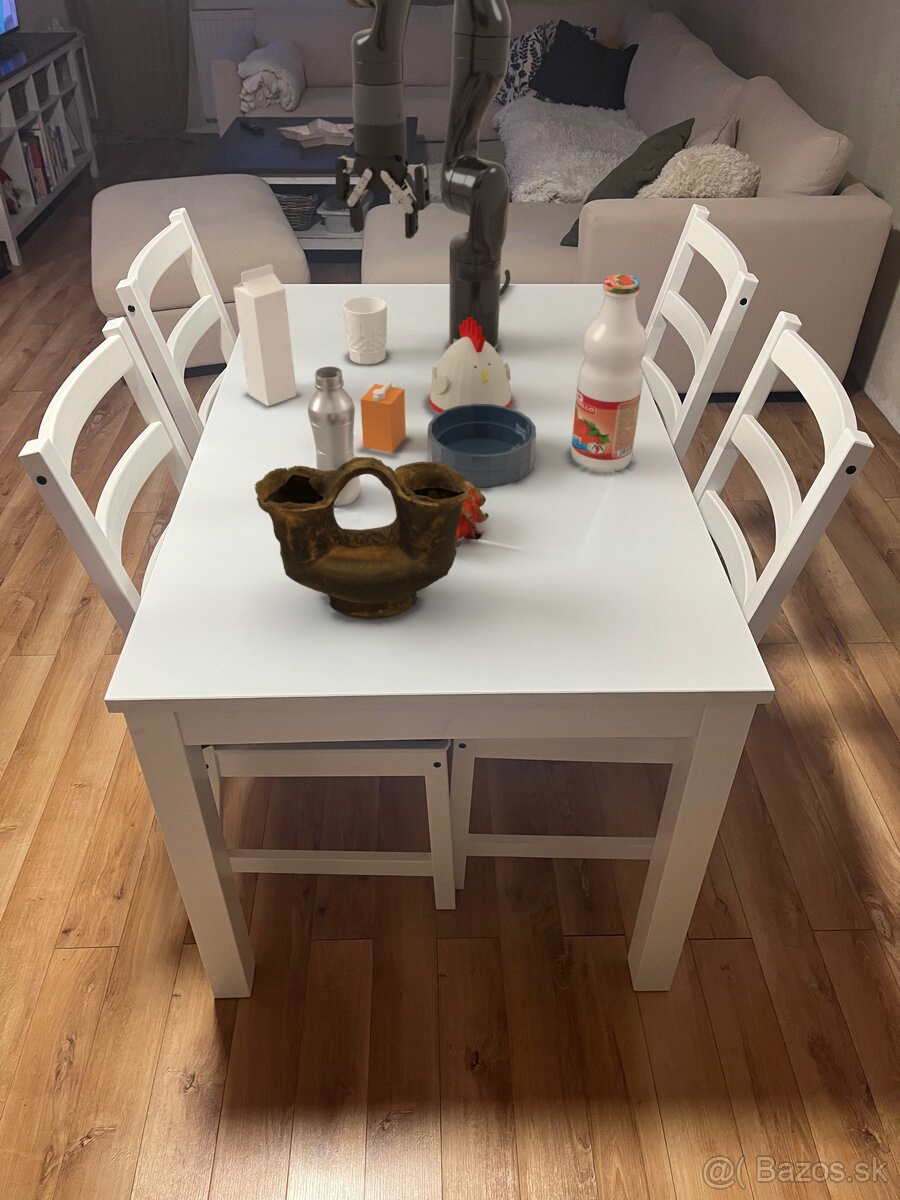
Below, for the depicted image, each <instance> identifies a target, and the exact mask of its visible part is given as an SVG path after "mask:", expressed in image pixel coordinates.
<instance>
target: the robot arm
mask: <svg viewBox="0 0 900 1200" xmlns="http://www.w3.org/2000/svg"><path fill="white" fill-rule="evenodd" d="M342 1H343V2H344V3H345V4H347V5H349V6H350V7H353V8H358V9H367V10H375V14H374V19H373V23H372V27H371V28H366V29H363V30H359V31H358V32H356V33H354V34H353V35H352V38H351V43H350V53H351V56H350V57H351V73H352V76H351V77H352V94H351V106H352V107H351V115H352V124H353V141H354V143H353V145H354V152H355V157H354V158H353V157H350V156H349V155H348V154H344V155H341V156H340V157H338V158H336V159H335V163H334V167H335V198H336V200H337V201H338V202H344V203H346V204H347V205H348V210H349V225H350V227H351V228H353V232H354V233H360V232H361V231H363V230H364V228H365V226H364V225H365V224H364V207H363V206H364V205H363V203H361V201H362V200H363V198H364V196H366V194H367V192H369V193H372V194H379V193H381V194H383V195H388V196H389V195H391V194H392V195H393V196H394V198H395V199H396V201H397V202H400V204H401V206H402V207H403V209H404V210H405V211H406V212H405V213H404V233H405V235H404V236H405V239H413V238H414V237H415V235H416V234H417V233H418V232H419V212H420V211H423V210H425V209H426V208H428V207H429V206H430V205H431V191H430V176H429V165H428V164H427V163H426V162H422V163H420V164H410V163H409V161H408V156H407V155H408V141H407V140H408V139H407V137H408V136H407V101H406V100H407V99H406V92H405V91H406V90H405V83H404V51H403V50H404V42H405V38H406V37H405V36H406V33H407V27H408V22H409V17H410V12H411V7H412V3H413V0H342ZM452 17H453V19H452V32H451V48H450V49H451V52H450V53H451V54H450V85H449V97H448V99H449V100H448V111H447V124H446V131H445V138H444V147H443V153H442V161H441V168H440V181H439V188H440V196H441V200H442V203H443V204H444V206H445V207H446V208H447V209H448V210H450V211H452V212H455V213H457V214H461V215H464V216H466V217H467V216H468V217H469V222H468V229H467V231H465V232H461V233H459V234H456V235H454V236H453V237H452V238H451V240H450V242H449V307H448V308H449V310H448V311H449V313H448V314H449V317H448V319H449V321H448V322H449V323H448V324H449V326H448V327H449V329H448V332H449V333H448V335H449V336H448V348H449V347H450V346H451V345H452V344H453V343H454V342H456V341H457V340H459V339H461V336H460V329H459V324H463V321H465V320H467V318H469V317H473V321H477V327H478V326H482V337H485V341H486V342H488V343H489V344H490V345H491V346H492V347H493V348H494V349H495V351H496V352H497V351H498V350H499V342H500V341H499V326H500V300H501V297H502V296H503V294H505V292H506V291H507V289H508V287H509V285H510V282H511V272H510V269H505V270H504V276H505V280H504V283H503V285H502V287H501V276H502V275H501V272H502V271H501V270H502V269H501V268H502V249H503V246H504V243H505V240H506V236H507V229H508V217H509V209H510V208H509V207H510V194H511V187H510V186H511V185H510V177H509V174H508V172H507V169H506V168H505V167H504V166H503V165H502V164H500V163H499V162H495V161H492V160H488V159H484V158H481V157H479V147H480V145H479V144H480V138H481V137H480V135H481V129H482V125H483V122H484V119H485V116H486V114H487V112H488V110H489V108H490V106H491V104H492V103H493V101H494V100H495V98H496V96H497V95H498V92H499V91H500V88H501V86H502V85H503V83H504V80H505V79H506V76H507V73H508V68H509V63H510V62H509V61H510V53H511V51H510V50H511V38H512V36H511V35H512V19H511V14H510V10H509V7H508V4H507V1H506V0H454V3H453V16H452ZM353 170H354V171H355V173H356V175H357V176H358V177H359V180H358V181H357V183H356V185H355V186H354V188H353V189H352V192H351V173H352V172H353ZM408 175H410V177H411V179H412V181H413V182H414V186H415V195H414V193H413V190H412V188H411V186H410V184H409V183H408V181H407V179H406V178H407V177H408Z"/></svg>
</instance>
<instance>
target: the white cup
mask: <svg viewBox="0 0 900 1200" xmlns="http://www.w3.org/2000/svg"><path fill="white" fill-rule="evenodd" d="M342 310H343V319H344V327H345V335H346V341H347V342H346V343H347V346H348V353H349V359H350V360H351V361H352V362H353V363H355V364H359V365H376V364H379V363H381V362H382V361H384V360H385V359H386V357H387V352H386V351H387V337H388V333H387V331H388V303H387V302H386V300H384V299H382V298H381V297H375V296H357V297H353V298H349V299H347V300H346V301H344V302H343V303H342Z"/></svg>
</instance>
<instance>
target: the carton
mask: <svg viewBox="0 0 900 1200" xmlns="http://www.w3.org/2000/svg"><path fill="white" fill-rule="evenodd" d="M405 397H406V396H405V388H401V387H395V386H392V382H391V381H386V383H385V384H379V383H374V384H373V385H372V386H371V387H370V388H369V389H368V391H366V393H364V395H363V396H361V398H360V415H361V416H360V417H361V431H362V432H361V433H362V446H363V448H367V449H372V450H376V451H383V452H388V453H394V451H395V450H396V449H397V448H398V447H399V445H400V444H401V443H402V442H403V440H404V439H405V438H406V436H407V434H406V431H407V429H406V398H405Z"/></svg>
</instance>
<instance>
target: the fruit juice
mask: <svg viewBox="0 0 900 1200" xmlns="http://www.w3.org/2000/svg"><path fill="white" fill-rule="evenodd" d="M640 284H641V283H640V280H639V279H638V278H637V277H636V276H632V275H628V274H611V275H608V276H606V277H605V278H604V280H603V286H602V291H603V293H604V296H603V297H604V298H603V301H602V304H601V306H600V309H599V311H598V312H597V314H596V316H595V317H594V319H593V320H592V321H591V322H590V323H589V324H588V326H587V327H586V328H585V330H584V333H583V336H582V342H581V343H582V351H583V356H584V357H583V361H582V362H581V364H580V367H579V371H578V377H577V385H576V395H575V396H576V397H575V406H574V417H573V426H572V438H571V448H570V453H571V457H572V458H573V460H574V461H575V462H576V463H578V464H579V465H581V466H584V467H586V468H590V469H592V470H599V471H612V470H614V472H618V471H621V470H624V469H625V468H626V467H628V465H629V464H630V463H631V460H632V457H633V452H634V445H635V437H636V431H637V424H638V418H639V409H640V402H641V395H642V390H643V379H644V371H643V368H642V361H643V358H644V356H645V354H646V351H647V347H648V335H647V332H646V329H645V328H644V326H643V325H642V323H641V322H640V321H639V317H638V313H637V305H636V304H637V303H636V300H637V299H636V298H637V296H638V294H639V292H640V287H641V285H640Z"/></svg>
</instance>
